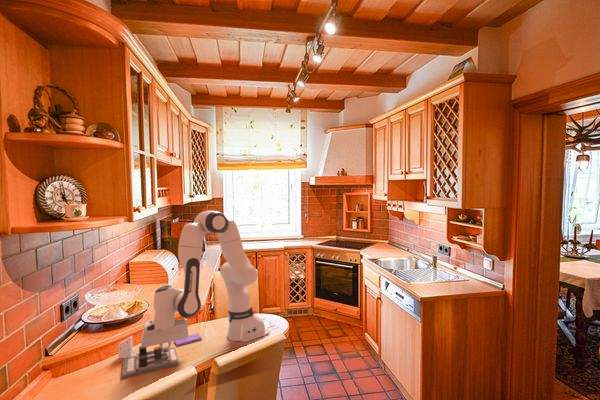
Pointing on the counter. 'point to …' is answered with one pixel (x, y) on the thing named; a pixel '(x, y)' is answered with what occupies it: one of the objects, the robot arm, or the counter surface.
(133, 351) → the white angled block
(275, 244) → the counter surface
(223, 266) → the robot arm
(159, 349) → the breaker
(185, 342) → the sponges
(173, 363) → the breaker panel
